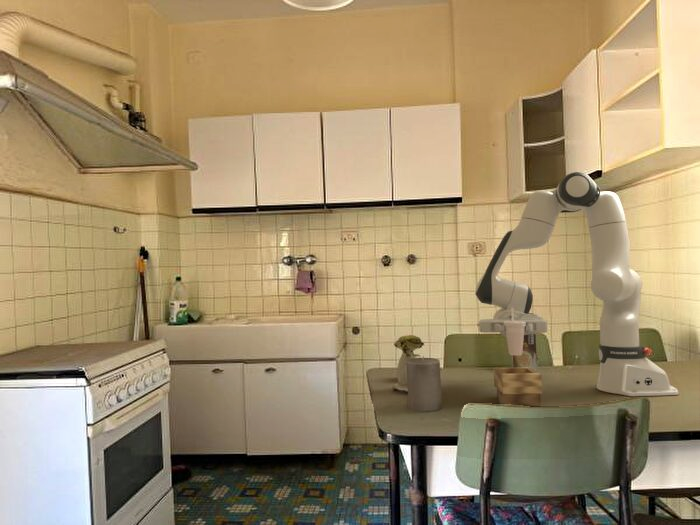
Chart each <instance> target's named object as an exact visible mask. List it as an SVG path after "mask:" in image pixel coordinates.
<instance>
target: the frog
mask: <svg viewBox="0 0 700 525" xmlns="http://www.w3.org/2000/svg"><path fill="white" fill-rule="evenodd" d="M393 345H394V347H396V349H399V350H401V355H400V358H399V361H398V363H397V368H396V369H397V371H396V372H397V375H396V376H397V381H398V382H397V384H395V385H392V390H395V389H397V390H399V391H401V392H408V387H407V360H409V359H413V358H415V357H414V355H413V352H415V350H417V349H421V348H423V347H422V346H425V342H422V338H421V337H419V336H416V335H411V334H410V335H408V334H407V335H402V336H400V337H399V338H398V339H397V340H396V341H395V342H394V344H393Z"/></svg>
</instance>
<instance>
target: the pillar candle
mask: <svg viewBox="0 0 700 525" xmlns="http://www.w3.org/2000/svg"><path fill="white" fill-rule="evenodd" d="M441 382H442V380H441V361H440V359H438V358H433V357H424V355H423V356H422V357H421V358H413V359H409V360H407V387H408V391H407V406H408V409H409V410H410V411H413V412H419V413H420V412H421V413H424V412H427V413H428V412H436V411H439V410H441V409H442V406H443V402H442V400H443V399H442V383H441Z"/></svg>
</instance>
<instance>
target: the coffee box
mask: <svg viewBox="0 0 700 525" xmlns="http://www.w3.org/2000/svg"><path fill="white" fill-rule="evenodd" d="M510 356H511V367H531V368H532V369H534V370H538V354H537V334H531V335H524V340H523V350H522V355H518V356H516V355H510Z"/></svg>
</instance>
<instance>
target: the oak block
mask: <svg viewBox="0 0 700 525" xmlns="http://www.w3.org/2000/svg"><path fill="white" fill-rule="evenodd" d="M493 376H494V377H493V382H494V383H493V384H494V387H495V388H496V390H497V389H498V390H499V391H500V392H502V393H503V394H543V383H542V381H543V378H542V373H540V372H538V371H536V370H534V369H532V368H531V367H512V366H511V367H493Z"/></svg>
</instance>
